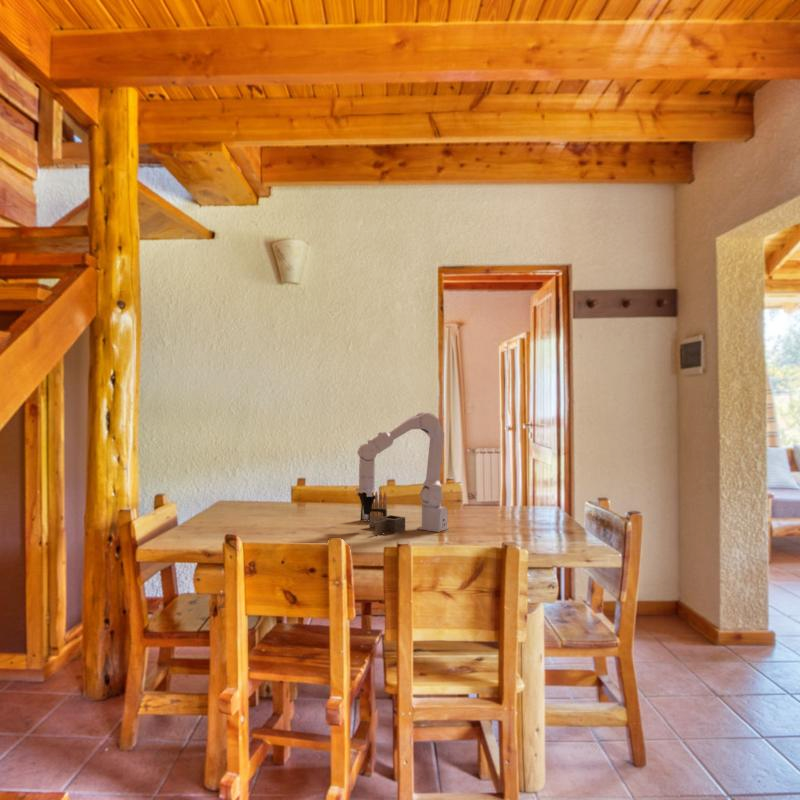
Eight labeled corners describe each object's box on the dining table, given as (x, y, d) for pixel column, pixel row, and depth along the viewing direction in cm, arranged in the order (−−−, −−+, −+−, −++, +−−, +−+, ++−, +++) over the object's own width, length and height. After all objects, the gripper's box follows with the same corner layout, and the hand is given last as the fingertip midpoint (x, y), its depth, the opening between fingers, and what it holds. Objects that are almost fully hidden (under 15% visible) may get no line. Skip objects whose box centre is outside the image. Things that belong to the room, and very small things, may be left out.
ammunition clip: (360, 520, 243) (360, 491, 243) (361, 520, 245) (362, 490, 245) (386, 522, 241) (386, 492, 241) (387, 521, 243) (387, 491, 243)
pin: (371, 518, 223) (371, 497, 223) (367, 520, 221) (367, 498, 221) (365, 517, 225) (365, 496, 225) (361, 519, 222) (361, 497, 222)
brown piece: (405, 530, 226) (405, 517, 226) (383, 537, 214) (384, 523, 214) (375, 525, 233) (375, 513, 233) (353, 532, 222) (353, 518, 222)
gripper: (353, 474, 229) (353, 510, 229) (358, 479, 215) (358, 517, 215) (372, 474, 230) (371, 509, 230) (378, 478, 216) (377, 516, 216)
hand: (366, 513), depth 223 cm, fingers closed on pin, 3 cm apart
